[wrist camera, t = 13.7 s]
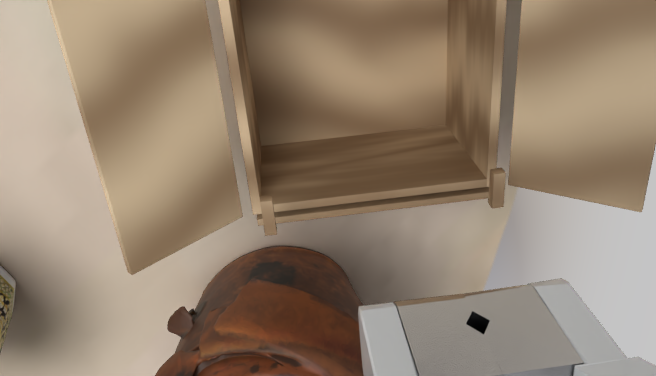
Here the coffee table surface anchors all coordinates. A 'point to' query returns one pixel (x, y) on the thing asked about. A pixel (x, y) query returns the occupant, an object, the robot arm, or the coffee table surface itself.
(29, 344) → the coffee table surface
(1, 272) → the ceramic cup
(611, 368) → the robot arm
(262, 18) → the wooden flap box
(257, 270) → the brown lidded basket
